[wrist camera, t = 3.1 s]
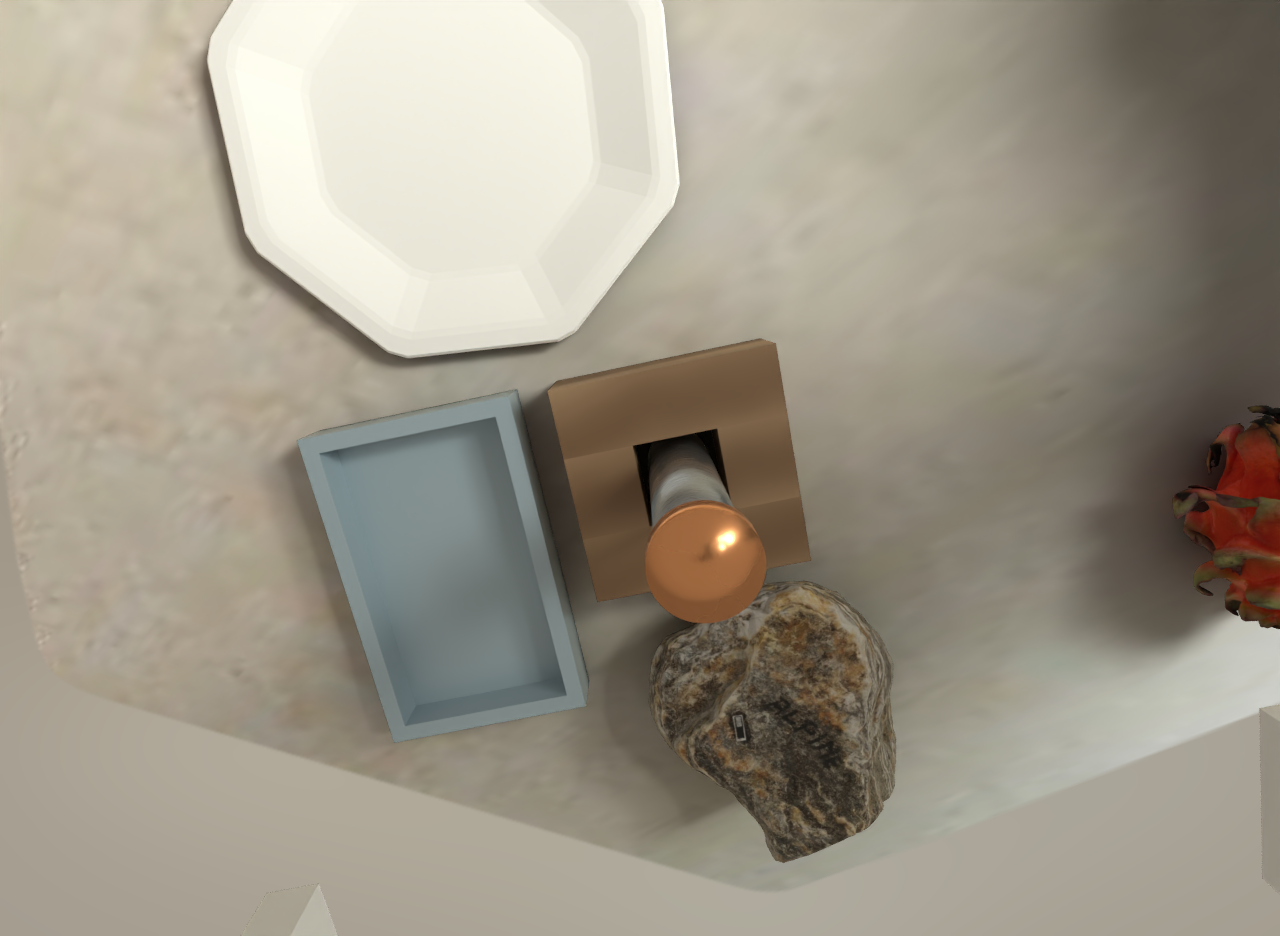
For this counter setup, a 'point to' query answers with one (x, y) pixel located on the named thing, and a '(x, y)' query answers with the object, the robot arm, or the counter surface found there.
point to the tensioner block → (670, 407)
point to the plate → (448, 157)
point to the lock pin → (698, 537)
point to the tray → (449, 565)
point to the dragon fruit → (1241, 519)
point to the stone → (784, 713)
